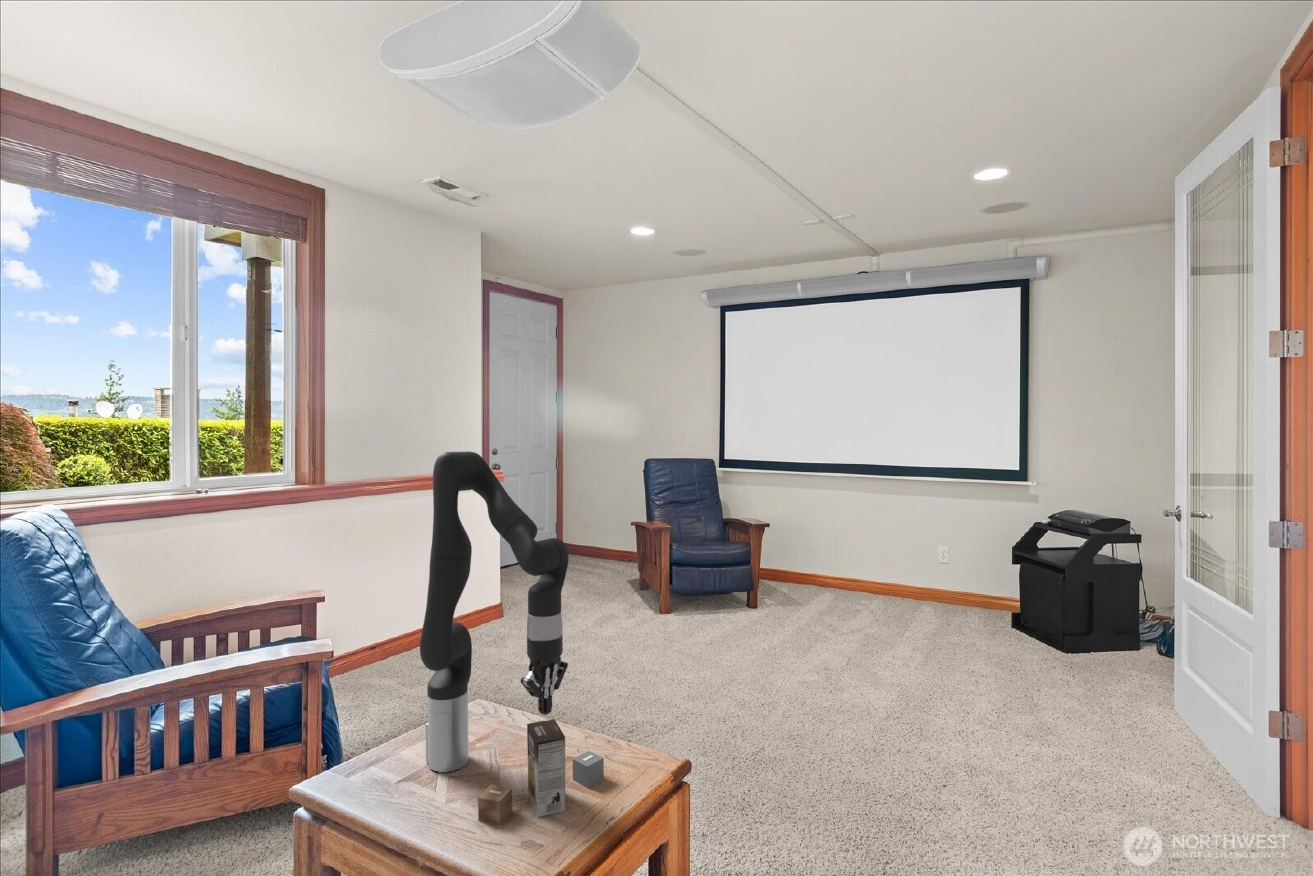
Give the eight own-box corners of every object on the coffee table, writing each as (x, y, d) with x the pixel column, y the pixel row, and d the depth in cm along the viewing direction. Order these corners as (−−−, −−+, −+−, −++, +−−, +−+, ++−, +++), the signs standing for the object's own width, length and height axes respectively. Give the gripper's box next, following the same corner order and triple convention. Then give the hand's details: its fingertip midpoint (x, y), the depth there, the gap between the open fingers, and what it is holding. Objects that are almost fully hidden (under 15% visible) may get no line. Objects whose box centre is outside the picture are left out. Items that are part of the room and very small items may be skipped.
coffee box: (526, 795, 144) (526, 723, 144) (555, 788, 147) (555, 717, 146) (536, 818, 136) (535, 742, 135) (566, 811, 138) (565, 735, 138)
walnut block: (478, 821, 135) (478, 796, 135) (491, 807, 140) (491, 783, 140) (499, 825, 134) (499, 800, 134) (512, 811, 139) (511, 787, 138)
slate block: (572, 780, 150) (572, 758, 150) (589, 771, 154) (588, 750, 154) (587, 788, 147) (587, 766, 147) (603, 779, 151) (603, 757, 150)
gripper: (552, 621, 148) (552, 697, 148) (509, 638, 136) (510, 720, 137) (578, 627, 144) (578, 705, 144) (536, 645, 132) (537, 730, 133)
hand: (545, 713), depth 141 cm, fingers closed
